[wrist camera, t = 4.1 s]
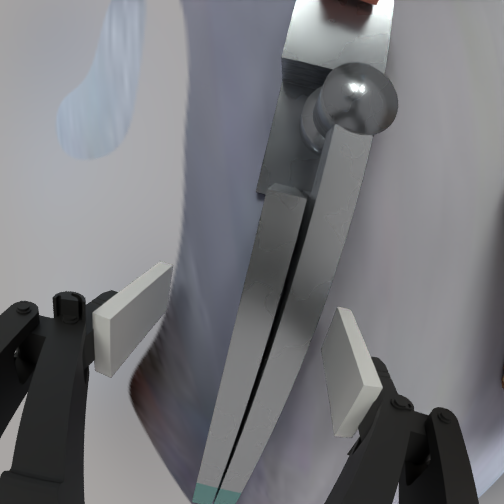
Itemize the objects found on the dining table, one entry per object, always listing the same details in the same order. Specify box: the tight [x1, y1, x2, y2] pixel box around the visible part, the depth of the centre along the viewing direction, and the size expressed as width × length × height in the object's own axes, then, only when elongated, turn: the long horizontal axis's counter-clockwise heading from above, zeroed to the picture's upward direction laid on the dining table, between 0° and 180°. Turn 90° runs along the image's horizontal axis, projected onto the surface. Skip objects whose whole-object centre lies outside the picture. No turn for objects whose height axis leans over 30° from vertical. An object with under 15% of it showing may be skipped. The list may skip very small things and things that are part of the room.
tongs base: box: [192, 0, 394, 504], centre depth 13 cm, size 31×4×7 cm, turn 167°
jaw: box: [213, 62, 398, 504], centre depth 14 cm, size 23×2×7 cm, turn 166°
